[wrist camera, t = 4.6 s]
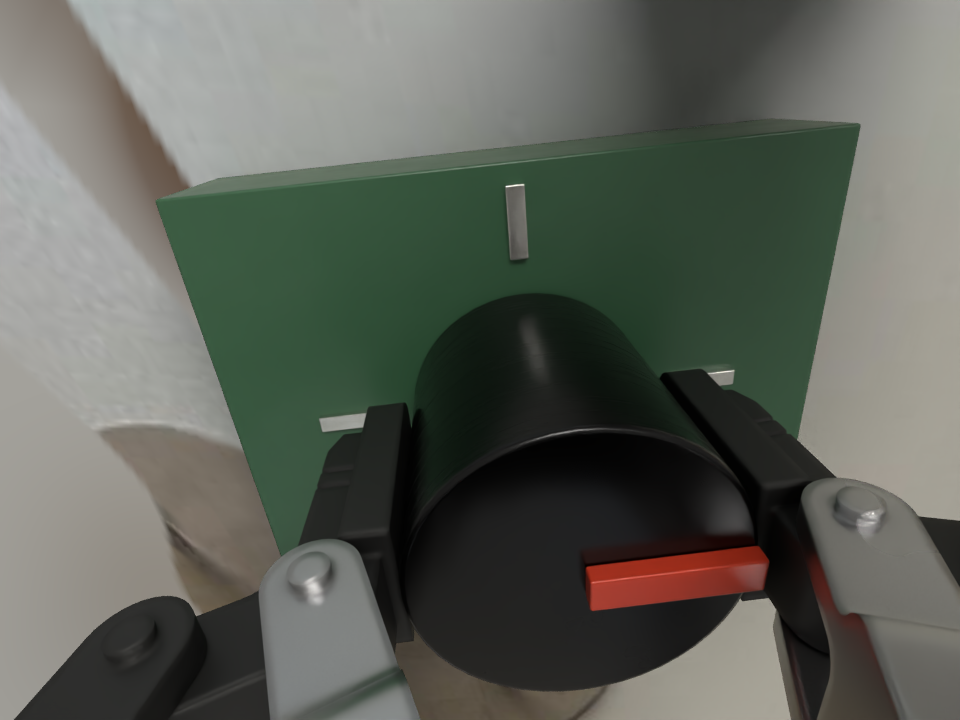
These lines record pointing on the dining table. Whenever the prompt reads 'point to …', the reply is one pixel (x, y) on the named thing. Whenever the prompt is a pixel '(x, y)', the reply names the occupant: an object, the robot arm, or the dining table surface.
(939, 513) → the dining table surface
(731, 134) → the block
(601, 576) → the cylinder
